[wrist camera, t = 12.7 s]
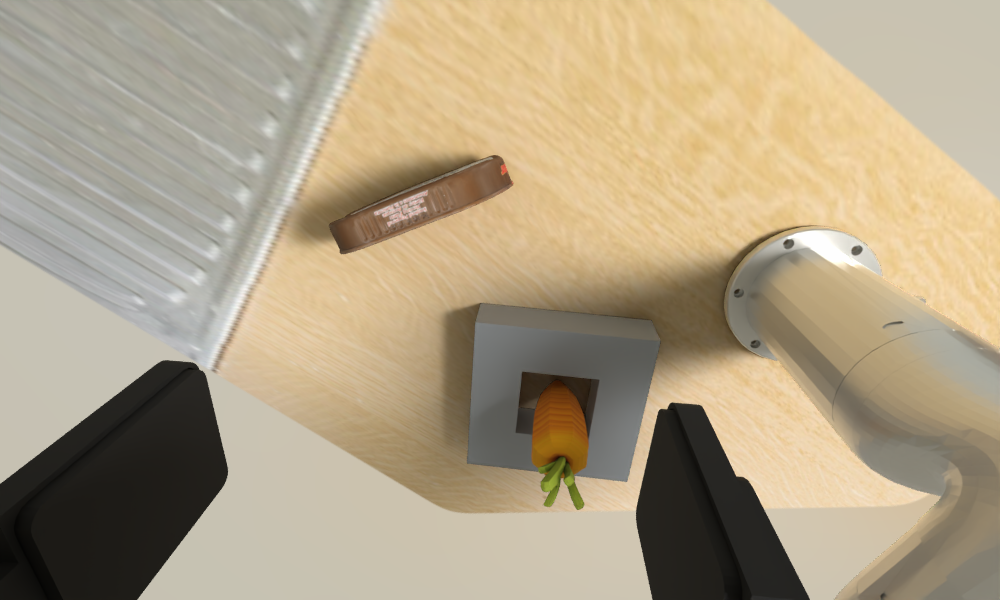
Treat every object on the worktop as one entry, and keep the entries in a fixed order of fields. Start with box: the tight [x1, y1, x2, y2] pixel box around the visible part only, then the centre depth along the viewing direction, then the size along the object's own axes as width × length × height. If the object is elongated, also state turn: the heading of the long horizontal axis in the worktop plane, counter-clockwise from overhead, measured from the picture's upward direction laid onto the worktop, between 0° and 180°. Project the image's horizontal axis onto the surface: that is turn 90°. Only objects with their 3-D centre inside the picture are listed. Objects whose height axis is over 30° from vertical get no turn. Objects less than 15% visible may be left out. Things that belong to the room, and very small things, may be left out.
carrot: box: [531, 380, 589, 510], centre depth 43 cm, size 5×5×15 cm
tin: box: [329, 155, 513, 254], centre depth 39 cm, size 15×3×8 cm, turn 112°
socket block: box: [467, 303, 661, 482], centre depth 48 cm, size 16×16×4 cm
